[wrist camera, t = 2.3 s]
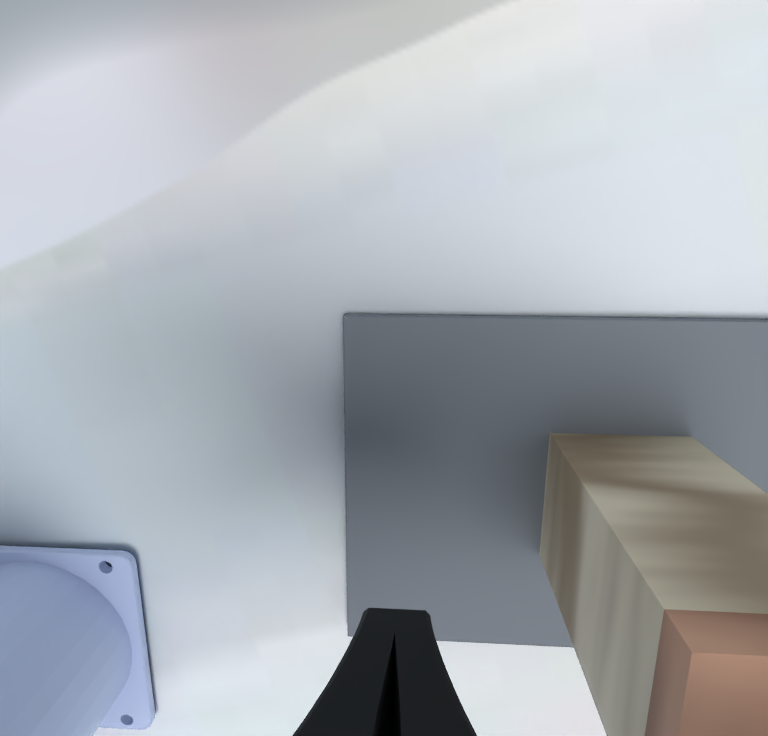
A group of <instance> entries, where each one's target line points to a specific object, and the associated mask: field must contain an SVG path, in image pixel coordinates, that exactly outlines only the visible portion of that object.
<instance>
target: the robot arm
mask: <svg viewBox="0 0 768 736" xmlns="http://www.w3.org/2000/svg"><path fill="white" fill-rule="evenodd" d="M105 561H107V562H109V563H110V564H111V565H112V567H110V566H108V565H107V564H106V563H105ZM129 715H130V716H129ZM154 718H155V708H154V700H153V692H152V684H151V676H150V668H149V660H148V652H147V644H146V636H145V628H144V619H143V611H142V603H141V595H140V587H139V579H138V571H137V563H136V560H135V558H134V557H133V555H132V554H130V553H129V552H127V551H121V550H97V549H72V548H47V547H23V546H0V736H93V734H94V733H95V731H96V730H97V728H98V727H105V728H121V729H138V730H141V729H146V728H148V727H149V726H150V725H151V724H152V722H153V720H154ZM293 736H477V735H476V733H475V731H474V729H473V727H472V725H471V723H470V721H469V719H468V717H467V715H466V713H465V711H464V709H463V707H462V705H461V703H460V700H459V698H458V696H457V694H456V691H455V689H454V687H453V684H452V682H451V680H450V677H449V675H448V673H447V670H446V668H445V665H444V662H443V660H442V657H441V654H440V651H439V648H438V645H437V642H436V639H435V635H434V632H433V628H432V623H431V616H430V614H429V613H428V612H427V611H426V610H409V609H388V608H367V609H366V610H365V611H364V612H363V614H362V617H361V620H360V623H359V625H358V628H357V630H356V632H355V634H354V636H353V638H352V641H351V643H350V645H349V646H348V648H347V650H346V652H345V654H344V656H343V658H342V660H341V661H340V663H339V665H338V667H337V668H336V670H335V672H334V674H333V675H332V677H331V679H330V681H329V682H328V684H327V686H326V687H325V689H324V690H323V692H322V693H321V695H320V696H319V698H318V699H317V701H316V703H315V704H314V706H313V707H312V709H311V710H310V712H309V713H308V715H307V716H306V718H305V719H304V721H303V722H302V723H301V725H300V726H299V727H298V729H297V730H296V732H295V733H294V734H293Z"/></svg>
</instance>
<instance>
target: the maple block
mask: <svg viewBox="0 0 768 736" xmlns="http://www.w3.org/2000/svg"><path fill="white" fill-rule="evenodd" d="M539 555H540V558H541V560H542V563H543V566H544V568H545V571H546V574H547V576H548V579H549V582H550V584H551V587H552V590H553V593H554V595H555V598H556V601H557V603H558V606H559V609H560V611H561V614H562V617H563V619H564V622H565V625H566V627H567V630H568V633H569V635H570V638H571V641H572V643H573V646H574V649H575V651H576V654H577V657H578V659H579V662H580V665H581V668H582V670H583V673H584V676H585V678H586V681H587V684H588V686H589V689H590V692H591V694H592V697H593V700H594V702H595V705H596V708H597V710H598V713H599V716H600V718H601V721H602V724H603V726H604V729H605V732H606V734H607V736H768V494H767V493H766V492H764V491H763V490H762V489H760V488H759V487H758V486H756V485H755V484H754V483H752V482H751V481H750V480H748V479H747V478H746V477H744V476H743V475H742V474H740V473H739V472H738V471H736V470H735V469H734V468H732V467H731V466H730V465H728V464H727V463H726V462H724V461H723V460H722V459H720V458H719V457H718V456H716V455H715V454H714V453H712V452H711V451H710V450H708V449H707V448H706V447H705V446H703V445H702V444H701V443H699V442H698V441H697V440H695V439H694V438H693V437H684V436H646V435H608V434H570V433H550V435H549V447H548V459H547V470H546V482H545V494H544V505H543V517H542V529H541V540H540V552H539Z"/></svg>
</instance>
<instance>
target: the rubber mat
mask: <svg viewBox="0 0 768 736" xmlns="http://www.w3.org/2000/svg"><path fill="white" fill-rule="evenodd" d="M343 343H344V413H345V483H346V552H347V622H348V636H354V634H355V632H356V630H357V628H358V625H359V623H360V620H361V617H362V614H363V612H364V611H365V610H366V609H367V608H388V609H409V610H426V611H427V612H428V613H429V614H430V616H431V623H432V628H433V632H434V635H435V639H436V641H455V642H475V643H495V644H516V645H536V646H557V647H574V646H573V643H572V641H571V638H570V635H569V633H568V630H567V627H566V625H565V622H564V619H563V617H562V614H561V611H560V609H559V606H558V603H557V601H556V598H555V595H554V593H553V590H552V587H551V584H550V582H549V579H548V576H547V574H546V571H545V568H544V566H543V563H542V560H541V558H540V555H539V552H540V540H541V529H542V517H543V505H544V494H545V482H546V470H547V459H548V447H549V435H550V433H570V434H608V435H646V436H684V437H693V438H694V439H695V440H697V441H698V442H699V443H701V444H702V445H703V446H705V447H706V448H707V449H708V450H710V451H711V452H712V453H714V454H715V455H716V456H718V457H719V458H720V459H722V460H723V461H724V462H726V463H727V464H728V465H730V466H731V467H732V468H734V469H735V470H736V471H738V472H739V473H740V474H742V475H743V476H744V477H746V478H747V479H748V480H750V481H751V482H752V483H754V484H755V485H756V486H758V487H759V488H760V489H762V490H763V491H764V492H766V493H767V494H768V319H706V318H633V317H561V316H488V315H415V314H345V315H344V316H343Z"/></svg>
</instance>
